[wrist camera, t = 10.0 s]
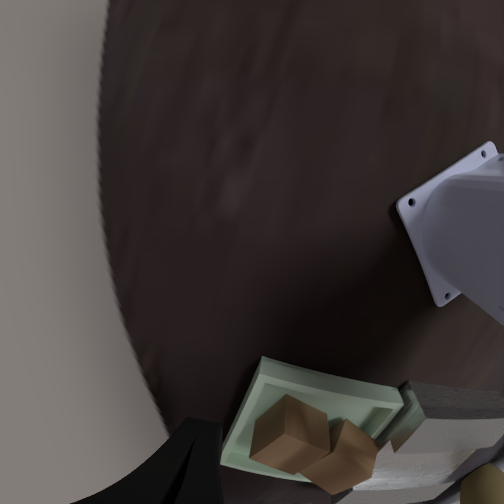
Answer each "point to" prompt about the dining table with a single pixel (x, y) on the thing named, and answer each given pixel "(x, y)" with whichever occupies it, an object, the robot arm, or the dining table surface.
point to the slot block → (428, 443)
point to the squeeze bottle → (483, 486)
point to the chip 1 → (290, 436)
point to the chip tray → (314, 394)
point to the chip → (344, 459)
